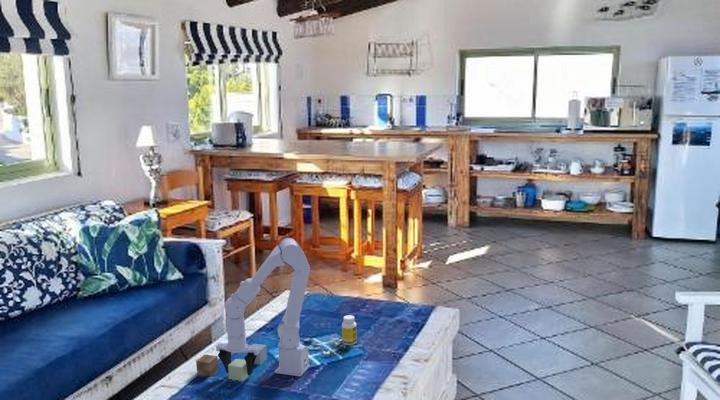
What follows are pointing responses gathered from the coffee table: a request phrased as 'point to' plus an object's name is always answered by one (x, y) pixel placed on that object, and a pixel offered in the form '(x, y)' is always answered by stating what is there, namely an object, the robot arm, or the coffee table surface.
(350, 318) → the supplement bottle
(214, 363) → the walnut block
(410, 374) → the coffee table surface
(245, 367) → the sage block
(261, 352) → the slate block
